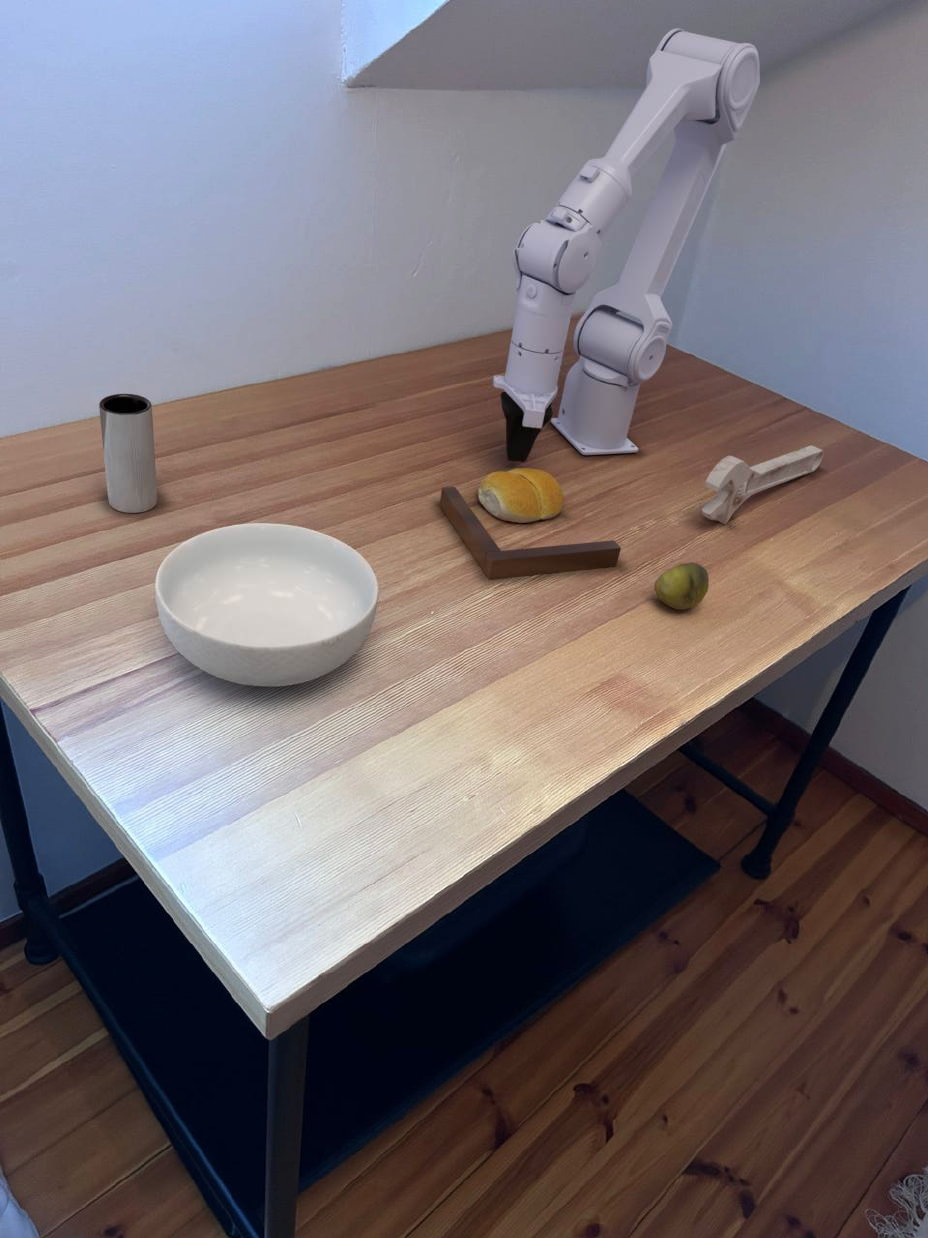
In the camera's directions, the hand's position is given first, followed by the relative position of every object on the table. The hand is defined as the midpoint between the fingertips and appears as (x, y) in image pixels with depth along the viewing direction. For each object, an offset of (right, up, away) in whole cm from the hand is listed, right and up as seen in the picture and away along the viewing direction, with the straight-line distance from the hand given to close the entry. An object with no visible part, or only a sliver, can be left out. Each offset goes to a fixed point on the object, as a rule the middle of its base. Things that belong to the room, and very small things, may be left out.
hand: (515, 458), depth 108 cm
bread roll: (0, -6, -6) cm, 9 cm away
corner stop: (0, -10, -11) cm, 14 cm away
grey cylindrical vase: (-38, -7, -16) cm, 42 cm away
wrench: (+29, -4, +4) cm, 30 cm away
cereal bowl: (-22, -21, -31) cm, 43 cm away
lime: (+14, -17, -17) cm, 28 cm away
